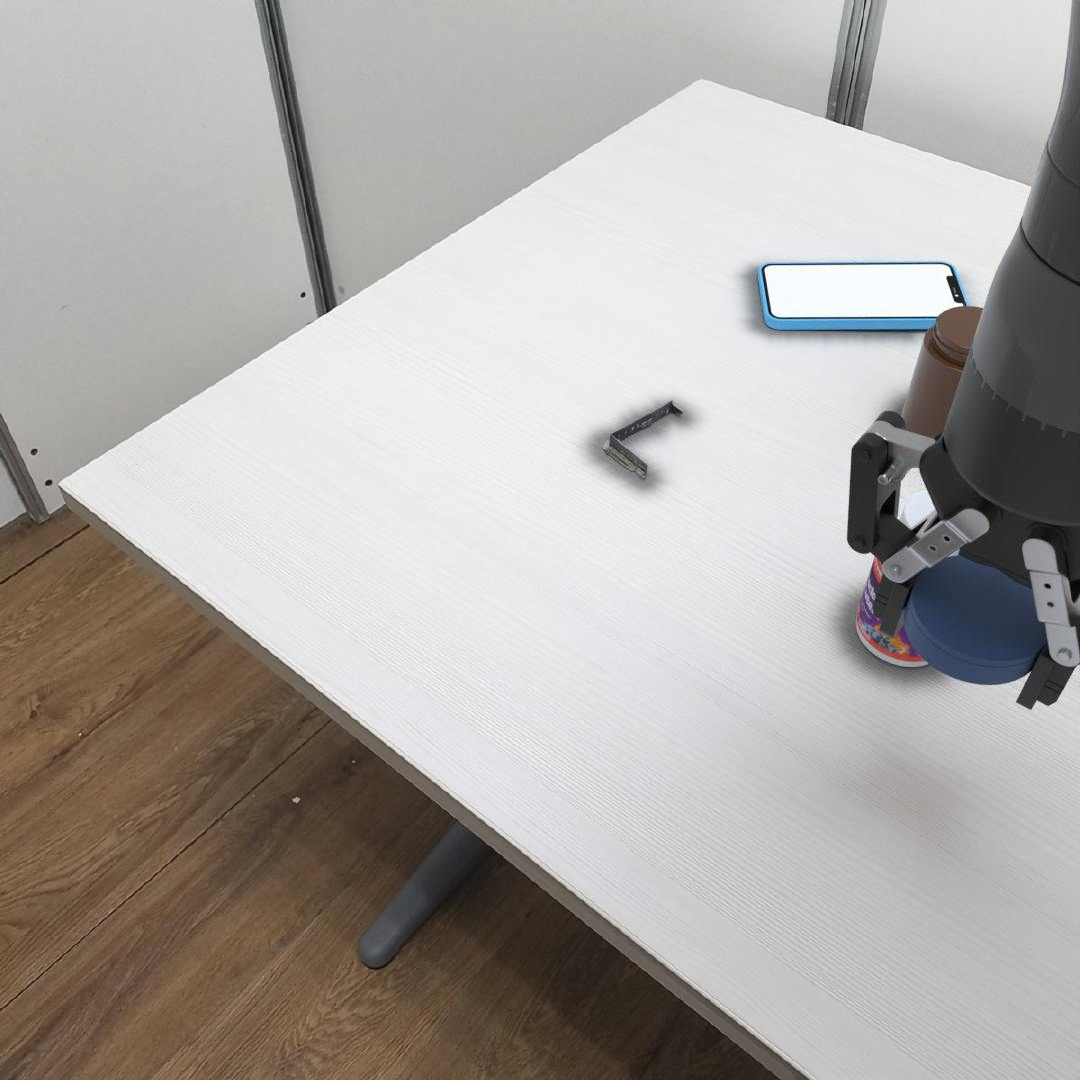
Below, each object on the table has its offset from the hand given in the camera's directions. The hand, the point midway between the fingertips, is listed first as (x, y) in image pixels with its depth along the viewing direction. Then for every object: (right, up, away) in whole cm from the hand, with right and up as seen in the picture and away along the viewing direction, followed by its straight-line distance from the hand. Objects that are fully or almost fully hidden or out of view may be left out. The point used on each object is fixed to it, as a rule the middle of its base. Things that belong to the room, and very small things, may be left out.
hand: (962, 657), depth 51 cm
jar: (+8, +13, +27) cm, 31 cm away
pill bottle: (+2, 0, +15) cm, 15 cm away
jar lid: (0, +2, -2) cm, 3 cm away
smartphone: (+6, +23, +37) cm, 44 cm away
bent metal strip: (-12, +12, +26) cm, 31 cm away
